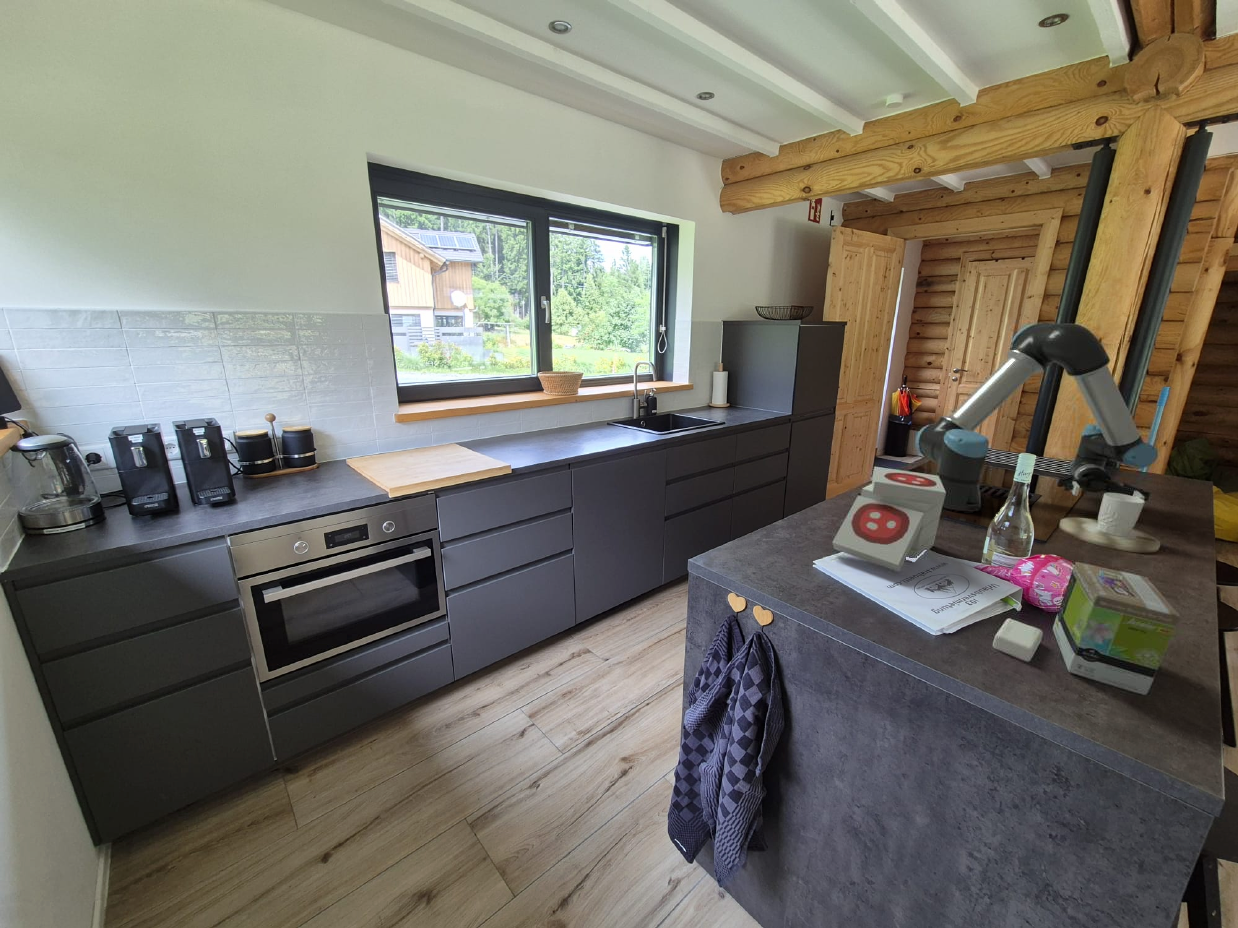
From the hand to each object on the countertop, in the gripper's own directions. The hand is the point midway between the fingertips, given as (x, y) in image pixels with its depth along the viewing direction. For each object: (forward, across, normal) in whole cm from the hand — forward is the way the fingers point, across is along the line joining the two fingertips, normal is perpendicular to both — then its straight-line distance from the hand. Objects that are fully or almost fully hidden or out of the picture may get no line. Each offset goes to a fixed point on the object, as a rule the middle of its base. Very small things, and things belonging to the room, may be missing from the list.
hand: (1108, 496), depth 142 cm
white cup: (+9, -1, -8) cm, 12 cm away
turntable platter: (+10, 0, -9) cm, 13 cm away
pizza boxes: (+56, +49, -10) cm, 75 cm away
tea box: (+82, +14, -10) cm, 83 cm away
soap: (+85, +25, -10) cm, 89 cm away
